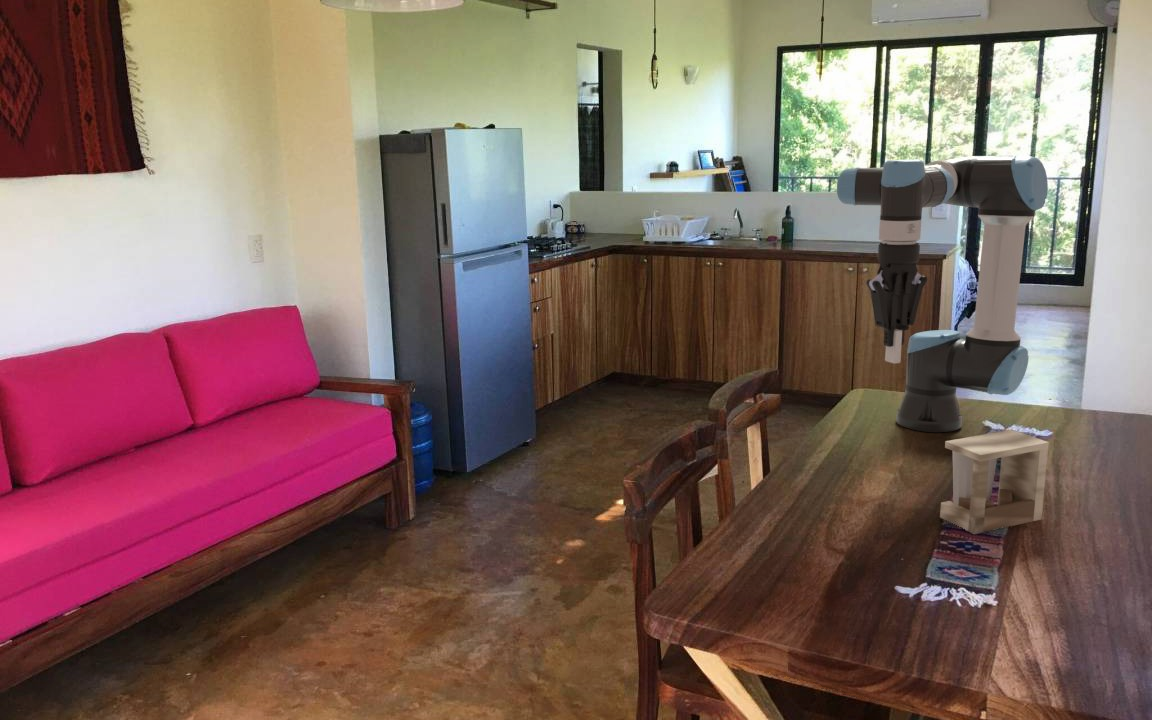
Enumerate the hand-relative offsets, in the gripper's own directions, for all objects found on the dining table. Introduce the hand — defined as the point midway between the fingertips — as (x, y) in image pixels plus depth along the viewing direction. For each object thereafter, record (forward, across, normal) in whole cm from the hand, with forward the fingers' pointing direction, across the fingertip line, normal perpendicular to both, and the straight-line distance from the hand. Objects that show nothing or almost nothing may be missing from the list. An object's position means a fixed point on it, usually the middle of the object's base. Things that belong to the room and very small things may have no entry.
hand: (892, 361), depth 184 cm
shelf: (+26, +7, -21) cm, 34 cm away
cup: (+27, +7, -16) cm, 32 cm away
